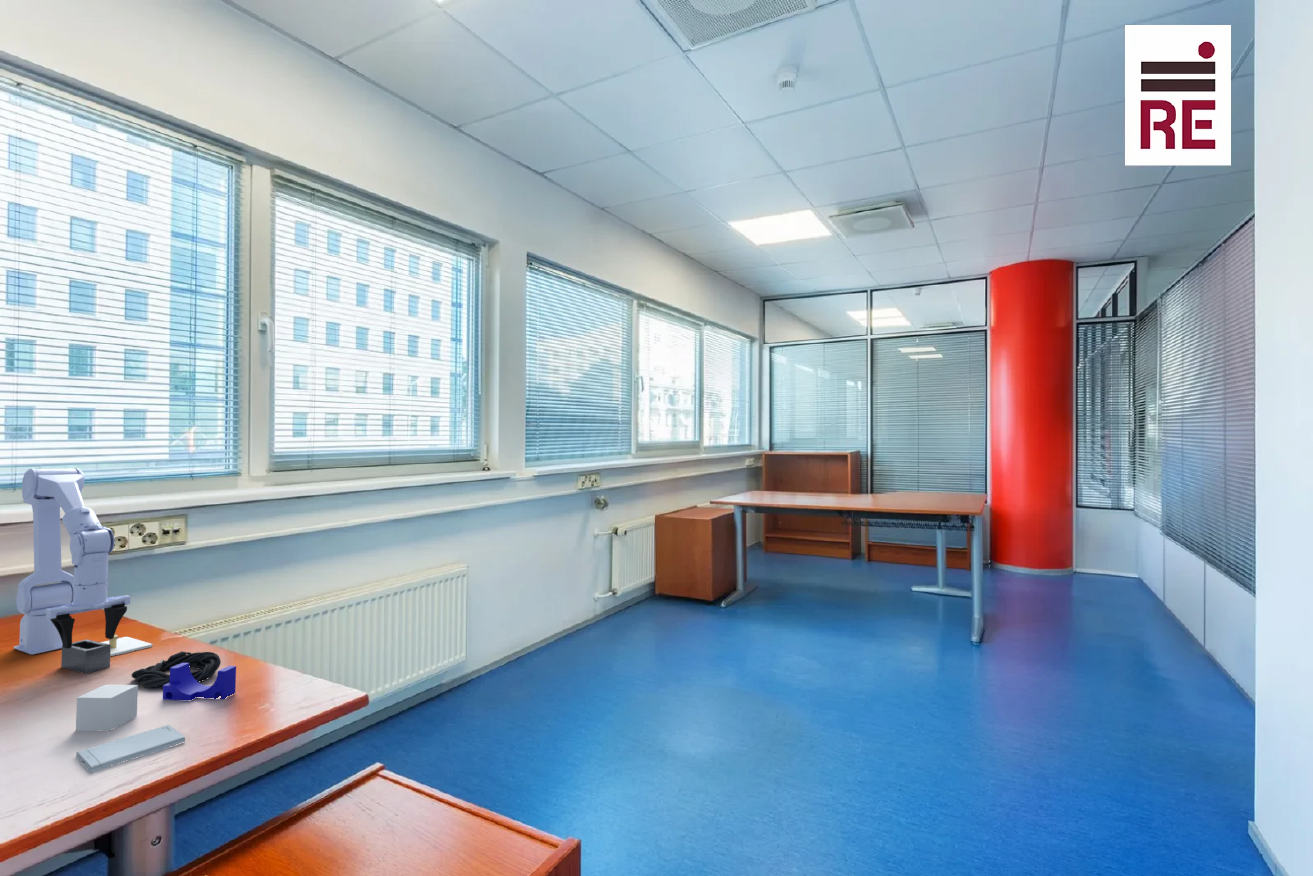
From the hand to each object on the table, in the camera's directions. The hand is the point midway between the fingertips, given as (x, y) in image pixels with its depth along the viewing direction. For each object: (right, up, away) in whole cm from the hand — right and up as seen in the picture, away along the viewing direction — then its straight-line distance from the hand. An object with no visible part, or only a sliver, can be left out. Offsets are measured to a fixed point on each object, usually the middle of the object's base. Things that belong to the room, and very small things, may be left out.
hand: (88, 642), depth 141 cm
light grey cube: (+28, -6, -27) cm, 39 cm away
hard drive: (+40, -7, -36) cm, 54 cm away
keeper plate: (-5, -5, +11) cm, 13 cm away
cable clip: (+36, -7, -14) cm, 39 cm away
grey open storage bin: (0, -5, -1) cm, 5 cm away
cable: (+24, -7, -5) cm, 25 cm away
